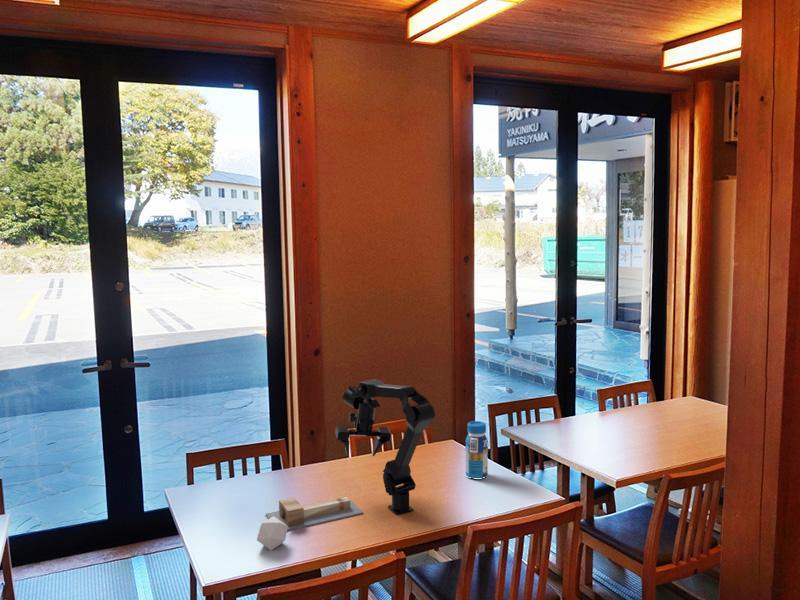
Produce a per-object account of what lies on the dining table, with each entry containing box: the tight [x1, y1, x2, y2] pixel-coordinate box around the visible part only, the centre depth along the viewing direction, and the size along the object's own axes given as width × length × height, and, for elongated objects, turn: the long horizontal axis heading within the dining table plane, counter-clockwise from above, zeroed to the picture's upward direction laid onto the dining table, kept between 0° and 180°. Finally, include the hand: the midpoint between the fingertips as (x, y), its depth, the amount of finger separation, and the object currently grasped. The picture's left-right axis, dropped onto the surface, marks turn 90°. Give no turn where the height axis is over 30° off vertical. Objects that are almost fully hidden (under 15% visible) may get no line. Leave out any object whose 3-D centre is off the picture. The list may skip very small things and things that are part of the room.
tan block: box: [278, 497, 304, 527], centre depth 206 cm, size 9×5×5 cm, turn 28°
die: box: [256, 516, 288, 551], centre depth 190 cm, size 8×9×10 cm
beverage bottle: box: [464, 420, 489, 478], centre depth 241 cm, size 8×8×20 cm
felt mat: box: [265, 496, 364, 532], centre depth 211 cm, size 14×28×1 cm, turn 118°
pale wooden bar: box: [301, 496, 351, 518], centre depth 211 cm, size 3×18×3 cm, turn 118°
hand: (360, 455), depth 228 cm, fingers open, 9 cm apart
